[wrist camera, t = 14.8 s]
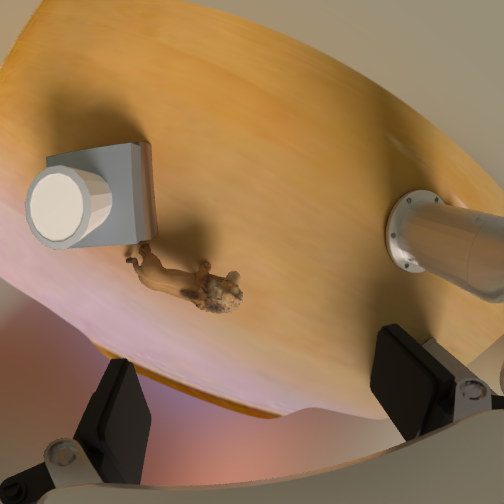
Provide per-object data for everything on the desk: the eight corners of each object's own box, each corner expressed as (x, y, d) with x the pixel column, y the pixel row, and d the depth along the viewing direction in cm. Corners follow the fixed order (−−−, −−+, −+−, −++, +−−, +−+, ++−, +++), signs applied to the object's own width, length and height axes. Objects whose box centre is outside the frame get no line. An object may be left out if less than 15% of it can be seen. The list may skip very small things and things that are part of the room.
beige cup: (54, 178, 26) (17, 180, 19) (110, 157, 26) (81, 153, 19) (69, 241, 28) (36, 258, 21) (125, 224, 28) (100, 239, 21)
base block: (151, 145, 34) (143, 141, 30) (158, 232, 37) (151, 239, 33) (74, 158, 33) (58, 157, 29) (82, 240, 36) (67, 248, 32)
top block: (140, 146, 30) (130, 142, 26) (145, 236, 32) (136, 243, 29) (62, 158, 29) (46, 157, 25) (69, 241, 31) (54, 249, 28)
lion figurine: (242, 256, 39) (249, 280, 30) (235, 295, 40) (240, 328, 31) (128, 240, 36) (105, 259, 28) (126, 279, 38) (104, 307, 29)
